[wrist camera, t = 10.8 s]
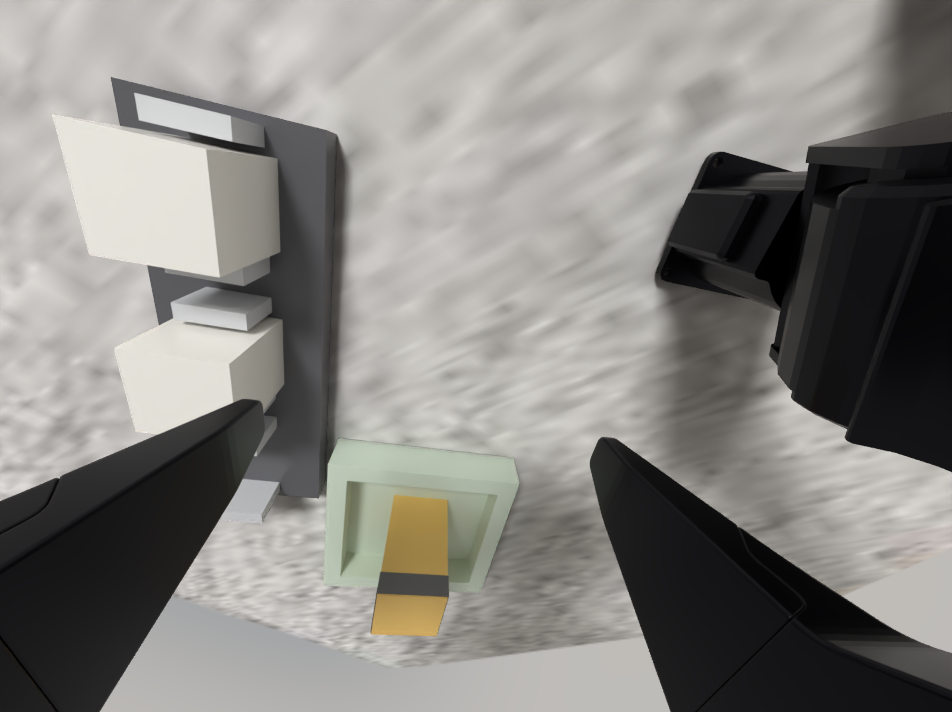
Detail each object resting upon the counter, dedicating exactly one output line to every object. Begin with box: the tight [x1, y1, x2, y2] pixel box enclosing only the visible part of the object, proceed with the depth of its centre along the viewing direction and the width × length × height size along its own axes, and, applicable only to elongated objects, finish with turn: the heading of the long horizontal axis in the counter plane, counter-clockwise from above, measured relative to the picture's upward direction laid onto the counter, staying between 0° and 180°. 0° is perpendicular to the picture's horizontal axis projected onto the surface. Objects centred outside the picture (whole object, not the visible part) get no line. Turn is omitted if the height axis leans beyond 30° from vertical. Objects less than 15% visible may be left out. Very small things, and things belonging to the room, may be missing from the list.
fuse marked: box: [370, 495, 449, 636], centre depth 24 cm, size 4×4×7 cm
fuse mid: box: [114, 317, 284, 434], centre depth 17 cm, size 4×4×5 cm
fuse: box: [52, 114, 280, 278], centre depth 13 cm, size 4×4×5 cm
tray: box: [323, 438, 519, 593], centre depth 26 cm, size 12×12×2 cm
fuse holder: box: [111, 77, 337, 523], centre depth 18 cm, size 8×22×4 cm, turn 168°
